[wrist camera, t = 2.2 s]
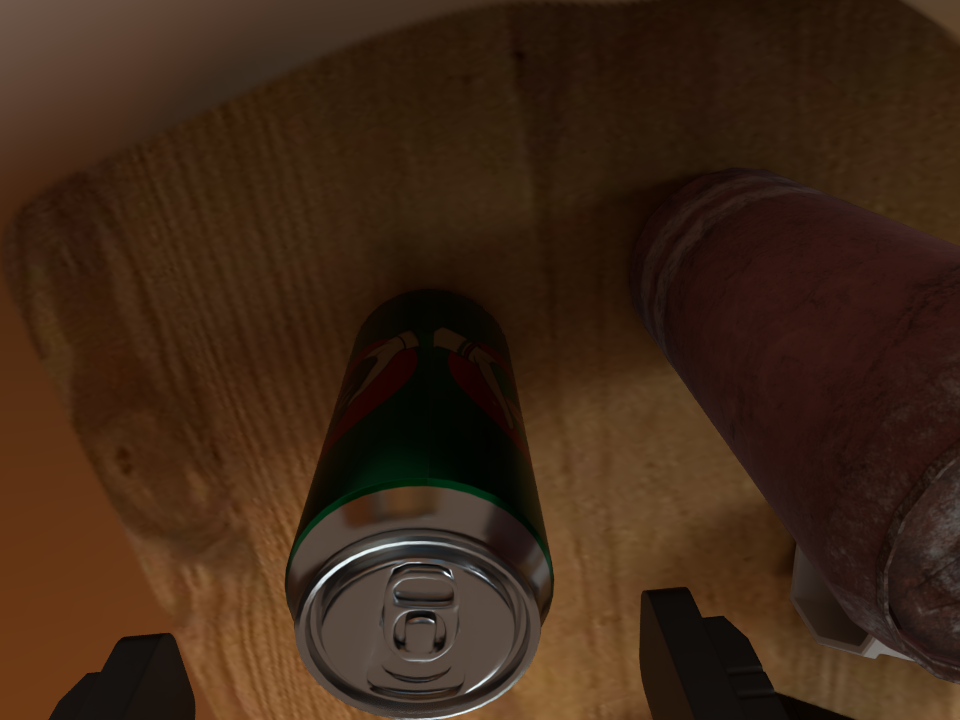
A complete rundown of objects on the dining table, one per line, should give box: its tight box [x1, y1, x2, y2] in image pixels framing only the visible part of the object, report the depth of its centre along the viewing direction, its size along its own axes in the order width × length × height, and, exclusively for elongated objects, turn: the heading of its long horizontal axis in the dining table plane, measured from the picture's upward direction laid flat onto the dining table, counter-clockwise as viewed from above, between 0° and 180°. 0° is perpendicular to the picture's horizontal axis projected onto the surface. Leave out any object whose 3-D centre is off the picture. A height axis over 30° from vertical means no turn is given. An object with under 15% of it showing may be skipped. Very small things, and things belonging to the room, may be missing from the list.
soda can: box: [285, 289, 554, 720], centre depth 18 cm, size 5×5×12 cm
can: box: [629, 168, 960, 684], centre depth 16 cm, size 6×6×14 cm
